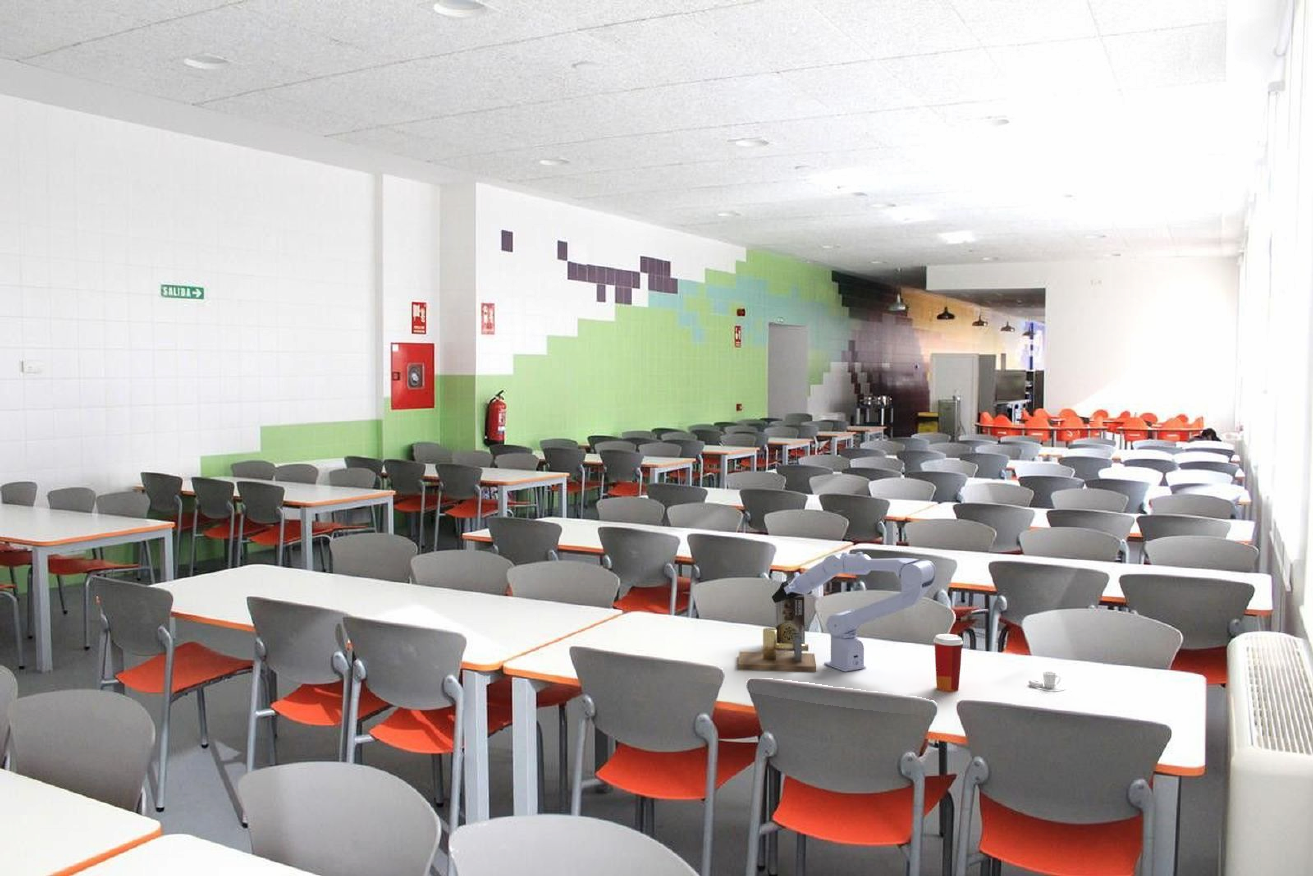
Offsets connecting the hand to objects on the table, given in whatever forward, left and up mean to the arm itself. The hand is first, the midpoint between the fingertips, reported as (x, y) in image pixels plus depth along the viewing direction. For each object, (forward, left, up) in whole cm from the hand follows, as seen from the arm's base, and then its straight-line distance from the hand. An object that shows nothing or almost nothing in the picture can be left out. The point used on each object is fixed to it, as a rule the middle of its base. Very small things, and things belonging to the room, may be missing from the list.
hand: (780, 597), depth 310 cm
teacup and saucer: (-60, -44, -18) cm, 76 cm away
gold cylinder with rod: (-10, +6, -15) cm, 19 cm away
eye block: (-9, +8, -17) cm, 21 cm away
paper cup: (-51, -18, -17) cm, 57 cm away
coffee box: (+6, -8, -17) cm, 20 cm away
